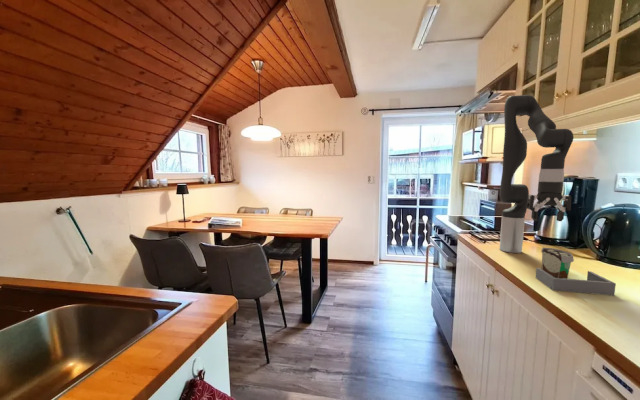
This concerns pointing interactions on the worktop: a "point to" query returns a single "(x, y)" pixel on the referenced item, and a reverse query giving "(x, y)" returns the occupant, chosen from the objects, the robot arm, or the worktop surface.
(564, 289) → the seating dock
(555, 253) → the food container
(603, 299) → the worktop surface
